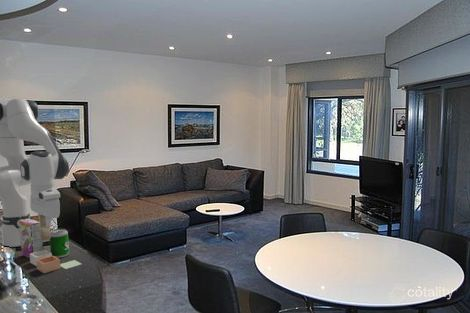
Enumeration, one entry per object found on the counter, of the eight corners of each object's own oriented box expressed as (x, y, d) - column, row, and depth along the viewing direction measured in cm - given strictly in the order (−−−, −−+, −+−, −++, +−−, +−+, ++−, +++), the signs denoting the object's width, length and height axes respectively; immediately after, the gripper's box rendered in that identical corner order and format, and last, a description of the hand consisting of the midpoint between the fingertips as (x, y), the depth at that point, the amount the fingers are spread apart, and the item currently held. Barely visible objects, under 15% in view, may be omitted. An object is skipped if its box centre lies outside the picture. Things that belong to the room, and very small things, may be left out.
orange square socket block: (37, 270, 166) (36, 259, 166) (53, 265, 171) (52, 255, 171) (44, 274, 162) (43, 263, 161) (60, 269, 167) (59, 259, 166)
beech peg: (39, 238, 165) (38, 214, 164) (48, 236, 168) (47, 212, 166) (43, 240, 163) (41, 216, 161) (52, 238, 165) (51, 214, 164)
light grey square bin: (30, 263, 174) (29, 253, 173) (46, 259, 179) (45, 249, 178) (36, 267, 170) (35, 257, 169) (52, 263, 174) (51, 253, 174)
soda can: (62, 260, 178) (60, 233, 176) (47, 259, 179) (45, 232, 178) (72, 254, 185) (71, 228, 184) (58, 253, 186) (56, 227, 185)
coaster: (58, 266, 171) (58, 264, 171) (74, 261, 176) (74, 260, 176) (65, 270, 166) (65, 268, 166) (82, 265, 171) (82, 264, 171)
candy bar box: (20, 255, 184) (18, 220, 182) (31, 252, 188) (29, 218, 186) (33, 261, 177) (30, 224, 175) (44, 257, 181) (41, 221, 179)
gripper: (25, 189, 168) (27, 221, 169) (45, 196, 154) (47, 232, 155) (40, 187, 172) (42, 218, 174) (62, 194, 158) (64, 228, 160)
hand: (45, 225), depth 165 cm, fingers closed on beech peg, 4 cm apart
